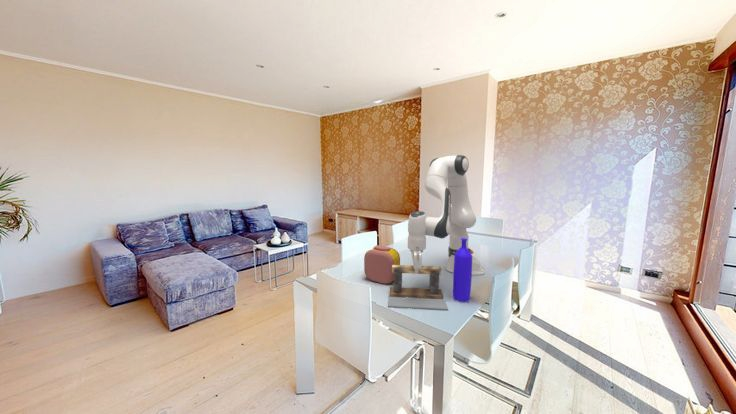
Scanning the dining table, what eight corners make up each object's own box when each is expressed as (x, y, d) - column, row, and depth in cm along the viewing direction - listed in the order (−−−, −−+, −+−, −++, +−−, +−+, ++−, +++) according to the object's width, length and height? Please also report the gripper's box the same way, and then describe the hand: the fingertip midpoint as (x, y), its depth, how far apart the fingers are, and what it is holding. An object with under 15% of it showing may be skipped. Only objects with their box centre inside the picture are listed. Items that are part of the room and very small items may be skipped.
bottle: (449, 294, 138) (452, 236, 134) (465, 294, 139) (468, 236, 134) (456, 302, 130) (459, 241, 125) (473, 302, 131) (476, 240, 126)
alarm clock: (400, 279, 157) (401, 246, 154) (392, 286, 147) (393, 252, 144) (372, 273, 166) (372, 242, 163) (363, 280, 156) (362, 247, 153)
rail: (440, 272, 137) (440, 266, 137) (441, 274, 134) (441, 268, 134) (392, 270, 140) (392, 264, 139) (391, 272, 137) (391, 267, 136)
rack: (440, 291, 141) (441, 265, 139) (443, 299, 133) (444, 271, 131) (390, 289, 144) (390, 264, 142) (389, 296, 136) (389, 269, 134)
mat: (445, 301, 131) (445, 300, 131) (447, 310, 123) (448, 308, 123) (388, 299, 134) (388, 297, 134) (387, 307, 126) (387, 305, 126)
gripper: (425, 251, 124) (424, 280, 126) (421, 239, 144) (420, 264, 146) (411, 250, 125) (410, 279, 127) (409, 239, 145) (408, 264, 147)
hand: (416, 271), depth 137 cm, fingers closed on rail, 3 cm apart
